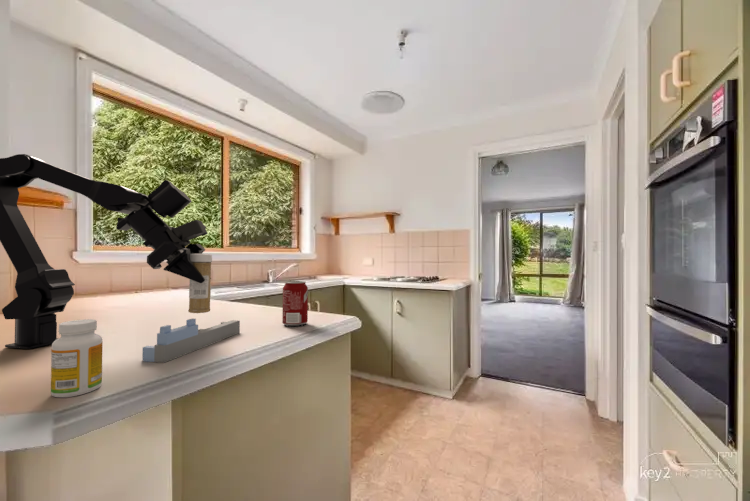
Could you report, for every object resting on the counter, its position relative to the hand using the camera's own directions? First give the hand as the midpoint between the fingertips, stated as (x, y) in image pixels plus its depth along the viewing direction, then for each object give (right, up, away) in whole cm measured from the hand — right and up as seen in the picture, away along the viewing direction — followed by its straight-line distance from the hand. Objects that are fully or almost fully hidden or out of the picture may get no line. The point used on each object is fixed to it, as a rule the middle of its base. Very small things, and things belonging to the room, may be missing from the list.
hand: (206, 280), depth 76 cm
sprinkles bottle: (-1, -7, -1) cm, 7 cm away
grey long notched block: (+1, -13, -6) cm, 14 cm away
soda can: (+17, -14, +15) cm, 26 cm away
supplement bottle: (-3, -13, -29) cm, 32 cm away
